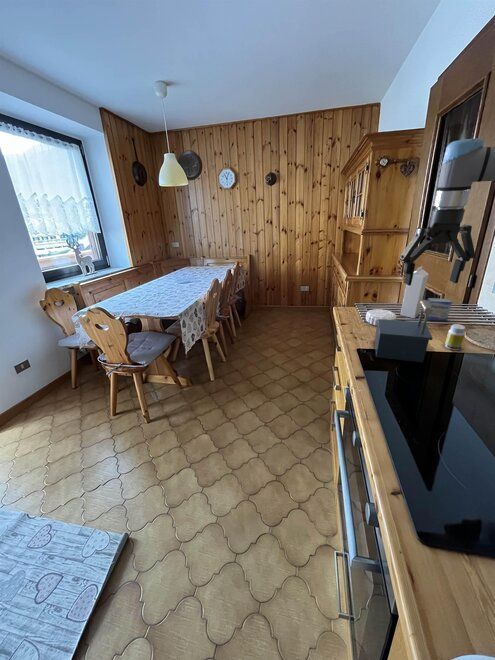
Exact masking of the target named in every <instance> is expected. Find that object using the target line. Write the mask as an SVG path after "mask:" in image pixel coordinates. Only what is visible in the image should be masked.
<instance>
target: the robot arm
mask: <svg viewBox="0 0 495 660" xmlns="http://www.w3.org/2000/svg"><path fill="white" fill-rule="evenodd" d="M476 182H477V183H481V182H495V146H484V139H483V138H481V137H480V138H479V137H478V138H467V139H459V140H453V141H451V142H450V143H449V144H447V146H446V148H445V151H444V156H443V160H442V163H441V168H440V173H439V178H438V182H437V187H436V191H435V195H434V201H433V205H432V206H433V207H434V208H432V210H431V214H430V218H429V225H428V227H427V228H425V227H420V226H418V227H417V228H416V229H415V233H414V235H413V237H412V238H411V240H410V241H409V243H408V244H407V246H406V247H405V249H404V250H403V252H402V253H401V255H400V256H399V260H400V261H401V262H403V263H404V267H403V273H404V274H405V276H404V277H405V278H404V282H403V283H404V284H405V285H406V284H407V285H411V283H412V278H413V273H414V271H415V268H416V263H415V261H416V260H417V259H418V258H420V256H422V254H424V253H425V252H426V251H427V250H428V249H429V248H430V247H432V246H433V245H435V244H436V245H440V244H449V245H450V247H451V248H452V250H453V252H454V253H455V255H456V257H457V258H456V259H454V263H453V266H452V270H451V273H450V276H449V281H450V282H452V283H454V284H458V282H459V279H460V276H461V272H464V271H465V267H466V264H467V263H468V262H469V261H471V259H475V258H476V252H475V247H474V242H473V238H472V229H473V226H472V225H470V224H465V223H464V224H462V225H461V223H462V222H463V219H464V216H465V212H466V209H465V208H464V207H466V206H468V201H469V198H470V193H471V189H472V185H473V183H476ZM458 234H460V239H461V242H462V245H461V244H460V241H459V239H458V237H457V235H458ZM426 235H427V236H426ZM424 236H426V237H425V238H424ZM423 238H424V239H423ZM462 246H463V247H462Z"/></svg>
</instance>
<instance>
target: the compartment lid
mask: <svg viewBox="0 0 495 660" xmlns="http://www.w3.org/2000/svg"><path fill="white" fill-rule="evenodd" d="M420 305H421V308H420V312H419V317H418V321H410V320H398V319H396V320H385V319H378V325H379V332H380V335H383V336H393V337H404V338H415V339H426V340H429V341H433V336H432V333H431V331H430V329H429V327H428V325H427V323H428V320H427V319H428V315H429V314H431V313H432V312H433V310H432V308H431V306H430V305H429V303H428V299H423V300H422V301H421V302H420ZM424 313H425V316H424ZM423 316H424V319H423ZM422 320H423V322H422Z"/></svg>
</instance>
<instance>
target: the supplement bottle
mask: <svg viewBox="0 0 495 660" xmlns="http://www.w3.org/2000/svg"><path fill="white" fill-rule="evenodd" d="M465 331H466V326H465V325H462V324H460V323H453V324H452V325H450V329H448V332H447V335H446V339H445V342H444V347H445V348H446V349H449V350H451V351H458V350H460V349H461V347H462V344H463V341H464V339H465V338H464V337H465V335H466V332H465Z"/></svg>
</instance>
